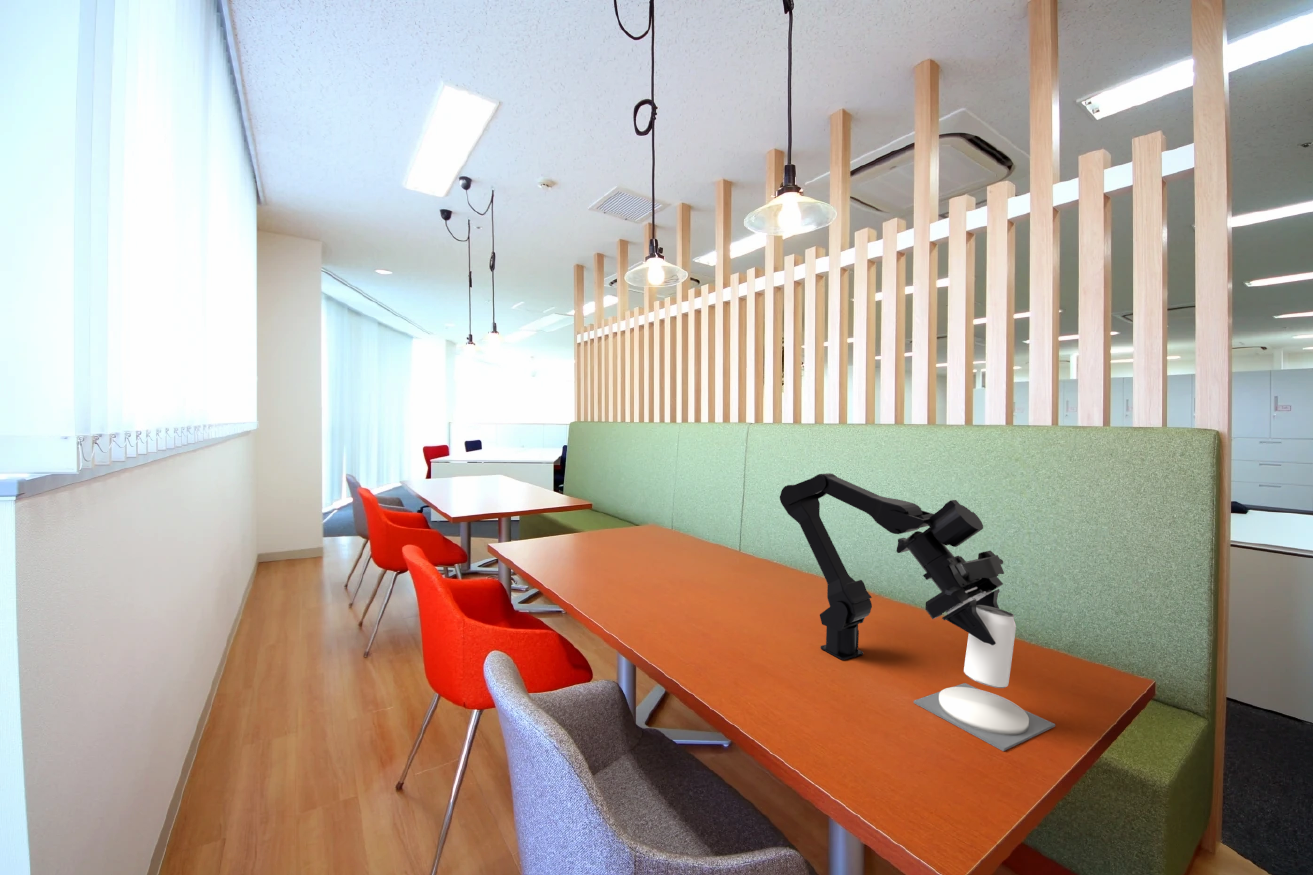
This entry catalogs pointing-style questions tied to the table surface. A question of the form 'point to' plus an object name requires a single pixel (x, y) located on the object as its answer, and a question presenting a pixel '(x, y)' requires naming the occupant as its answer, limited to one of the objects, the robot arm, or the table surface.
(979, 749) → the table surface
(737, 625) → the table surface
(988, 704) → the dish
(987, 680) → the can
